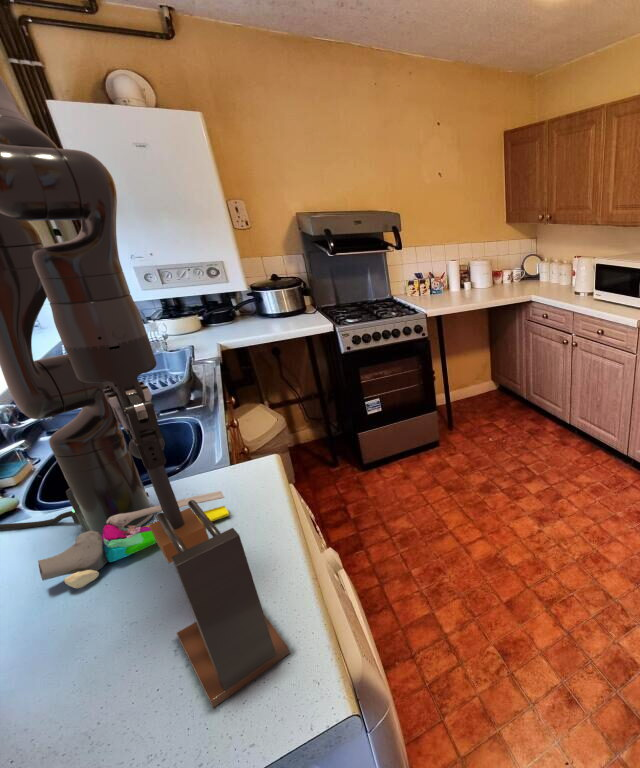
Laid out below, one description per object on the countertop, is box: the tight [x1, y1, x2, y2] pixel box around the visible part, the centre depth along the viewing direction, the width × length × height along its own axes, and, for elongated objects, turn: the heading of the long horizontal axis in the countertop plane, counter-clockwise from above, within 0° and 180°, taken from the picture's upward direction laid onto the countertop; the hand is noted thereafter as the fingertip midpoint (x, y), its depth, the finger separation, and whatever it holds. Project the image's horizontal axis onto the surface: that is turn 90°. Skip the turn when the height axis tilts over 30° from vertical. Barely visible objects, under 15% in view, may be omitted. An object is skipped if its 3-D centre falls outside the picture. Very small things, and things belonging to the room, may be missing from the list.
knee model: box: [37, 490, 230, 589], centre depth 76 cm, size 9×8×25 cm
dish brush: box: [128, 432, 210, 564], centre depth 60 cm, size 7×5×18 cm
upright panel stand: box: [155, 500, 291, 708], centre depth 55 cm, size 14×9×20 cm, turn 49°
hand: (152, 460), depth 58 cm, fingers closed on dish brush, 3 cm apart
